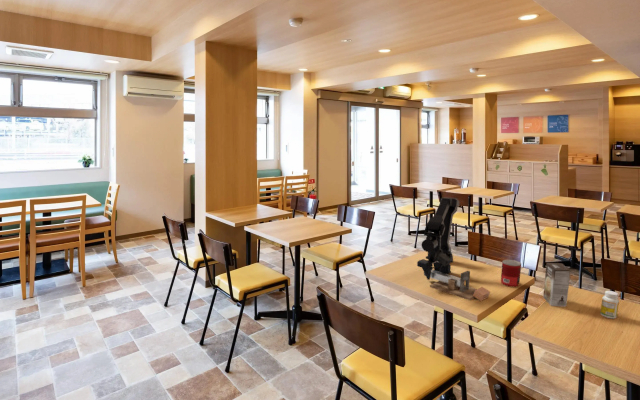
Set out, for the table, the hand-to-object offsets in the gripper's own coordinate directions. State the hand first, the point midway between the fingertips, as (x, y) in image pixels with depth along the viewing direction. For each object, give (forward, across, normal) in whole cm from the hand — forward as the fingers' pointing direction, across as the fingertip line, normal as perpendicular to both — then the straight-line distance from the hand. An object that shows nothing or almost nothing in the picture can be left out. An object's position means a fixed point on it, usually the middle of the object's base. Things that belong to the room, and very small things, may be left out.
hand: (432, 277), depth 188 cm
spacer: (-1, 0, -25) cm, 25 cm away
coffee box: (+2, +20, -47) cm, 51 cm away
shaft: (0, 0, -6) cm, 6 cm away
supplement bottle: (+2, +22, -66) cm, 69 cm away
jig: (+2, 0, -12) cm, 13 cm away
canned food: (+2, +26, -26) cm, 37 cm away
